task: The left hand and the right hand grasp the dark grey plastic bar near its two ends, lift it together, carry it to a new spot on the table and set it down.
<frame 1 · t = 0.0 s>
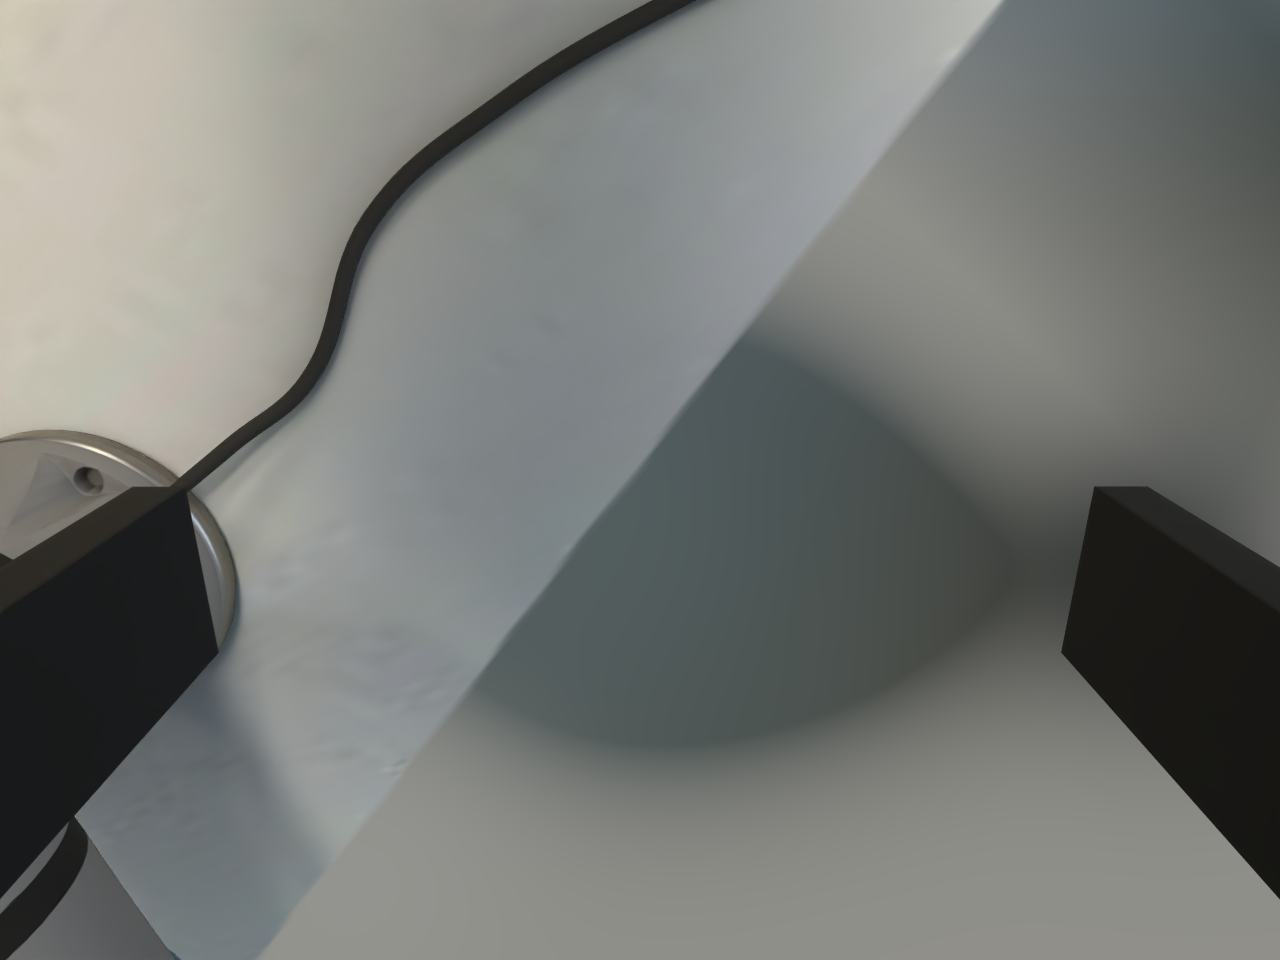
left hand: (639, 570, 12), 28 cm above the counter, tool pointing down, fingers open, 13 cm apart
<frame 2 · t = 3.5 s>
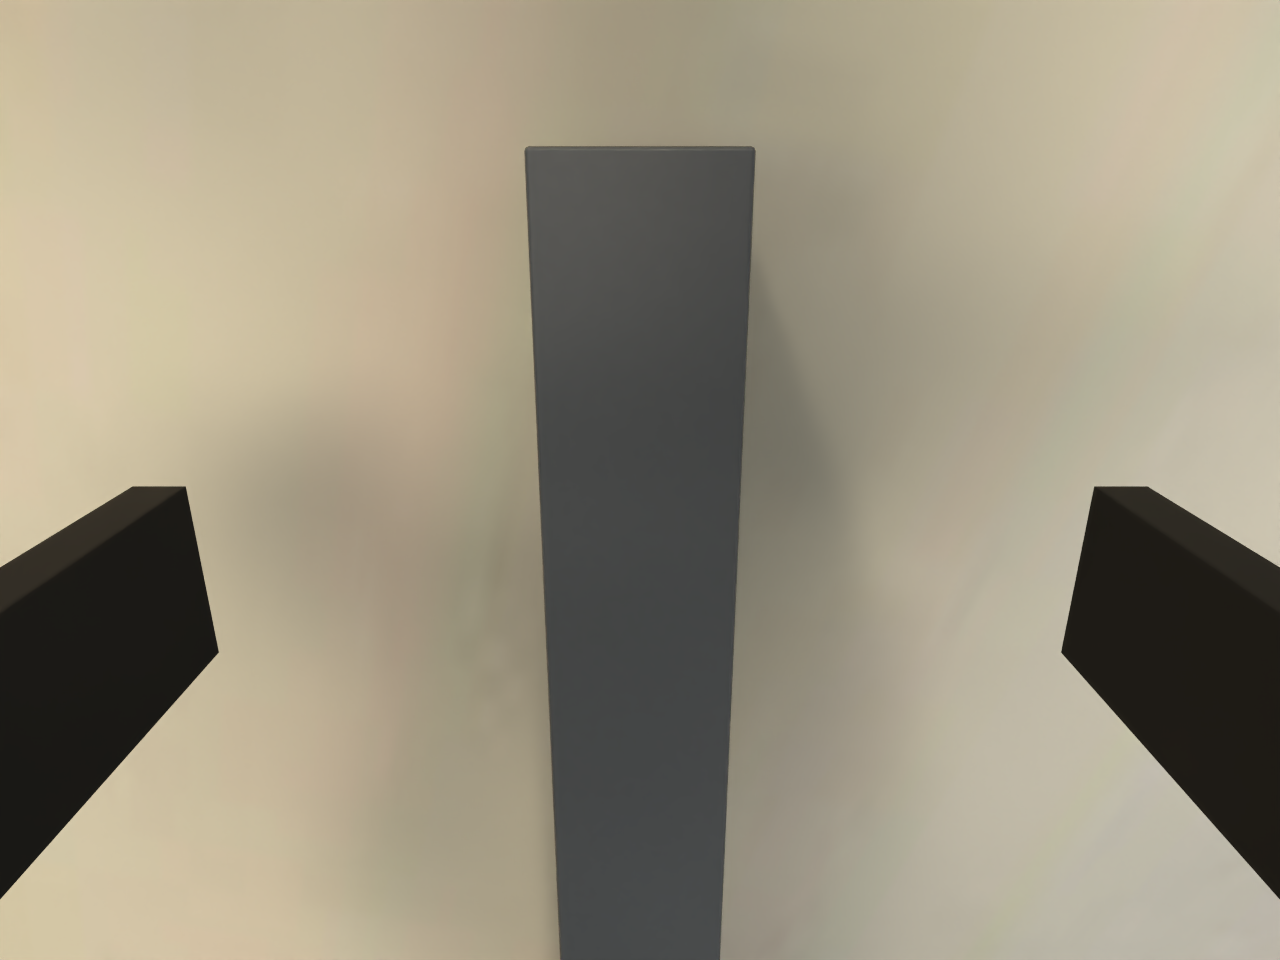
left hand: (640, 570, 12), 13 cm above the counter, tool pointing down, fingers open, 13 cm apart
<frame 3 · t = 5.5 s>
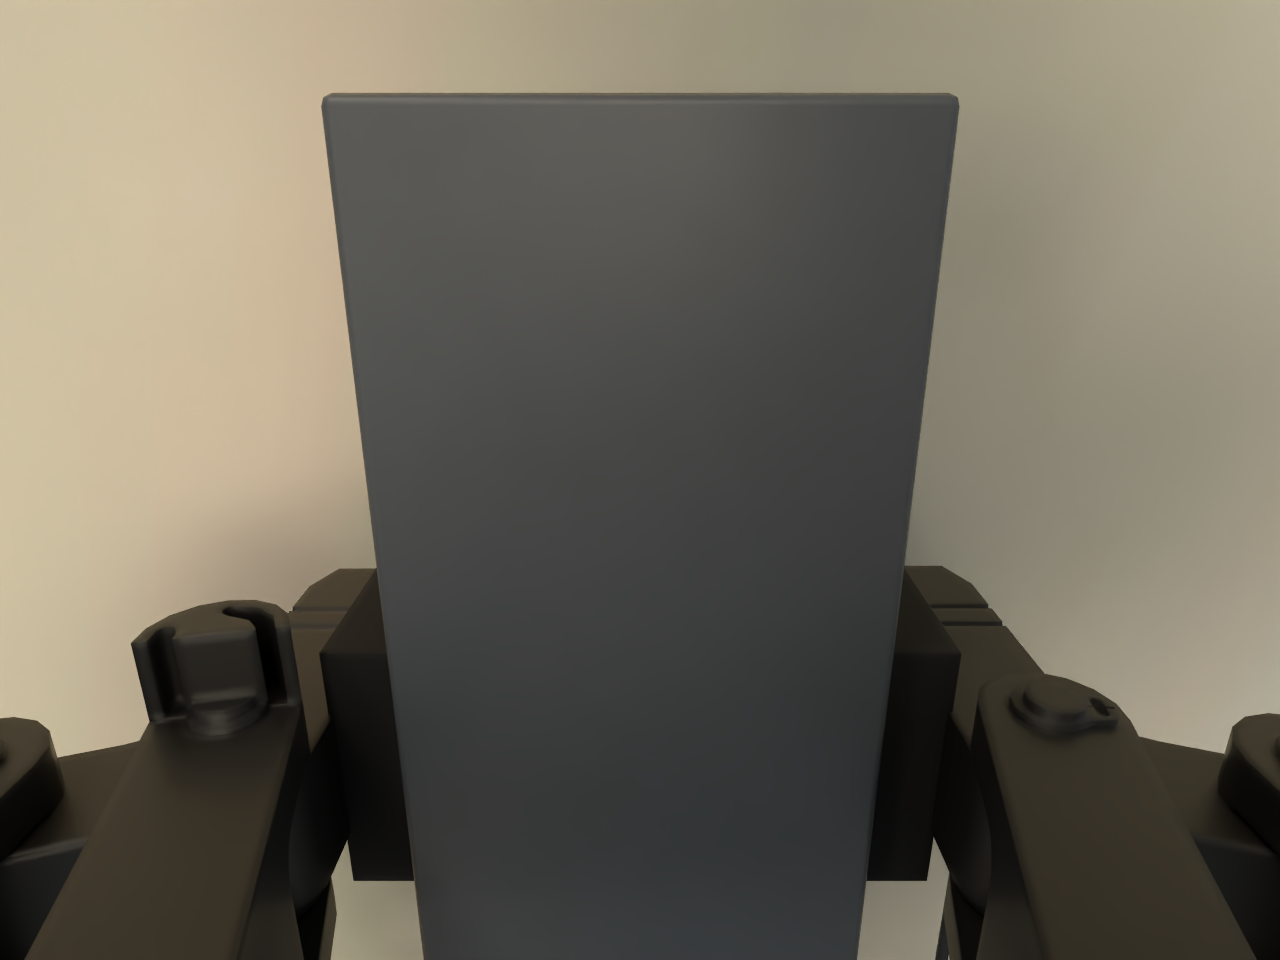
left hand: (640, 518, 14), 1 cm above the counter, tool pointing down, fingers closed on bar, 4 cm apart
when the left hand's fingers open (1 cm above the counter, at t = 11.4 s): bar stays where it is, on the counter.
when the right hand's fingers open (1 cm above the counter, at t = 11.4 s): bar stays where it is, on the counter.
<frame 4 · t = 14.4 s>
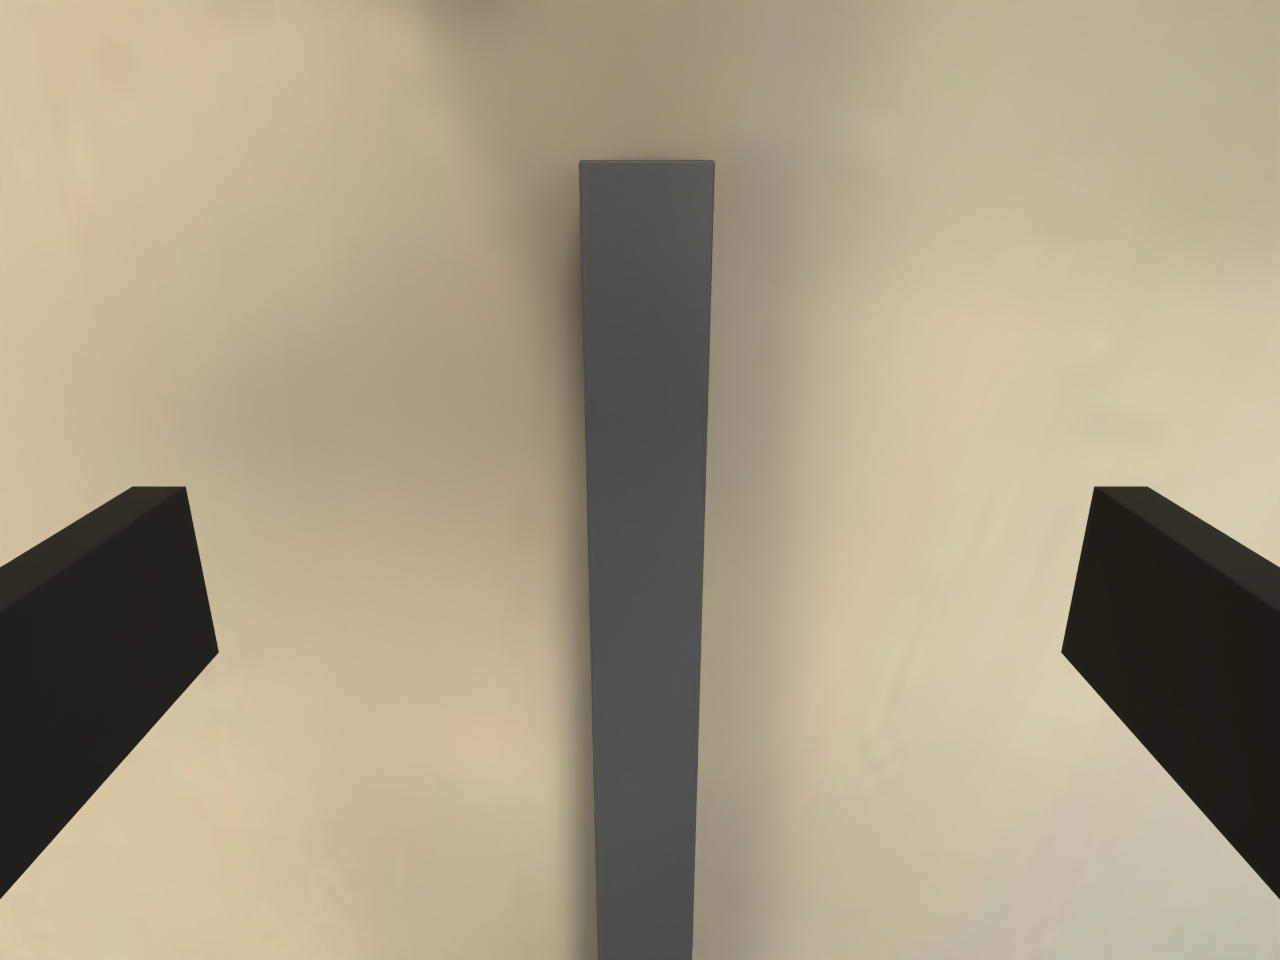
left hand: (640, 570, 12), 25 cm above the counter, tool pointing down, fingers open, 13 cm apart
bar: (643, 896, 47), on the counter
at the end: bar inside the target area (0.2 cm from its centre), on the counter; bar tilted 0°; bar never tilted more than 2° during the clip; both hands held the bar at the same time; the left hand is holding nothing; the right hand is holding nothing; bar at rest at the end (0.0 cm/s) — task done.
